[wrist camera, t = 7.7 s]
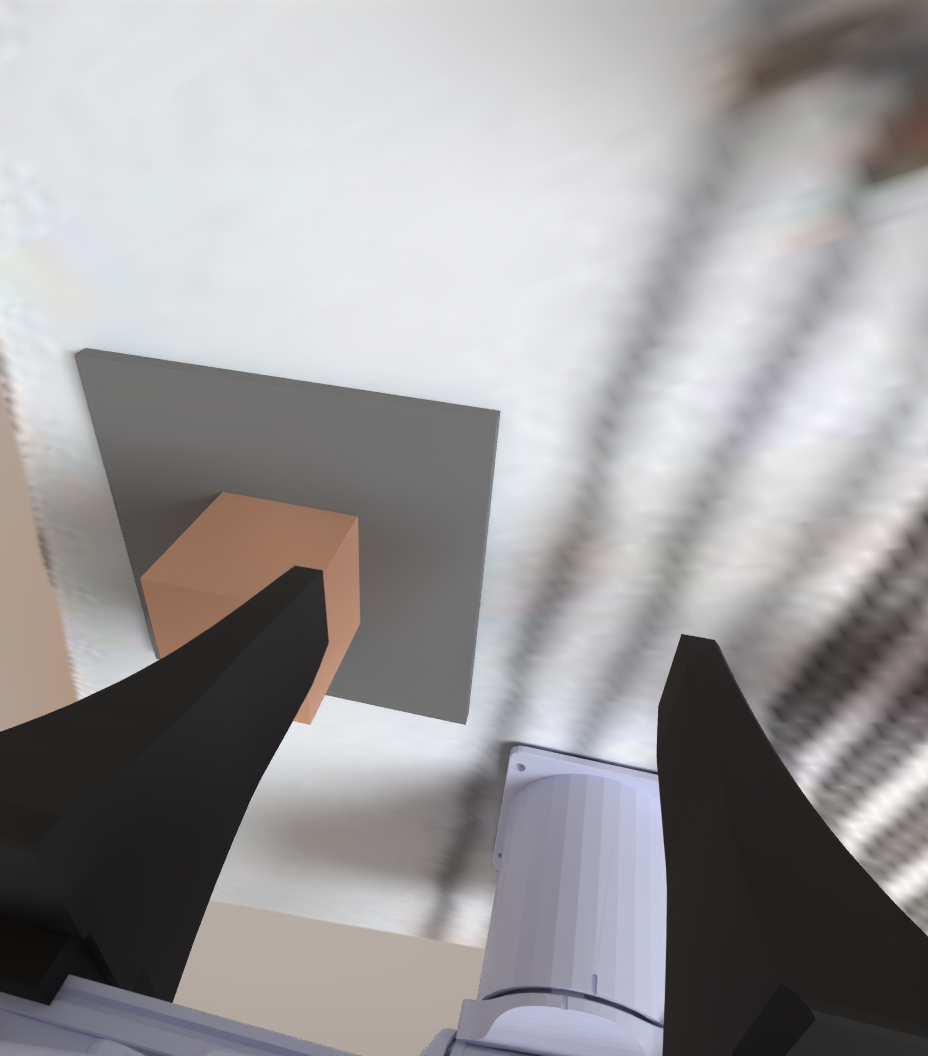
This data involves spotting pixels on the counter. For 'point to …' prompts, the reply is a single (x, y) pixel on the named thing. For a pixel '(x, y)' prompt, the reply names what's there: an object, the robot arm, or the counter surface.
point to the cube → (255, 573)
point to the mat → (317, 500)
